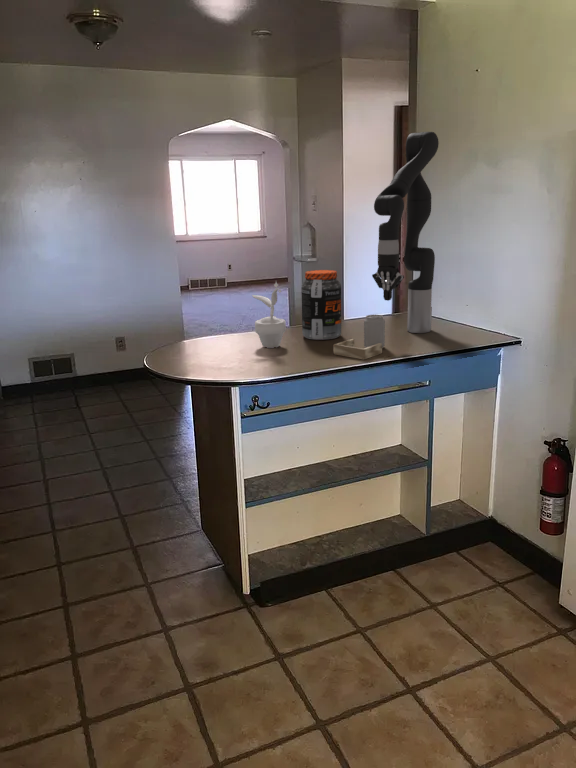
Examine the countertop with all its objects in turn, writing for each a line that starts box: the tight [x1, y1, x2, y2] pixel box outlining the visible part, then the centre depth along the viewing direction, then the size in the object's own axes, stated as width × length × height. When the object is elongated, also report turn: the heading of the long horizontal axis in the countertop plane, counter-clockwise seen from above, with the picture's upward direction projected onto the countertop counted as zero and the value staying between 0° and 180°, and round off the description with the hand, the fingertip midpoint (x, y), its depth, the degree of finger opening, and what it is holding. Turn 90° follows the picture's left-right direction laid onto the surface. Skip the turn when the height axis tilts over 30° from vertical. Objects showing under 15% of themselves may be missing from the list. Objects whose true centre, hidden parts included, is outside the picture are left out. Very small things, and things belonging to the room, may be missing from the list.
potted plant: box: [251, 281, 287, 349], centre depth 237 cm, size 13×12×25 cm
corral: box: [332, 338, 383, 360], centre depth 225 cm, size 11×13×4 cm
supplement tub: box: [301, 269, 342, 341], centre depth 250 cm, size 16×16×26 cm
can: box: [363, 314, 386, 349], centre depth 231 cm, size 8×8×12 cm
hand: (387, 300), depth 234 cm, fingers closed
